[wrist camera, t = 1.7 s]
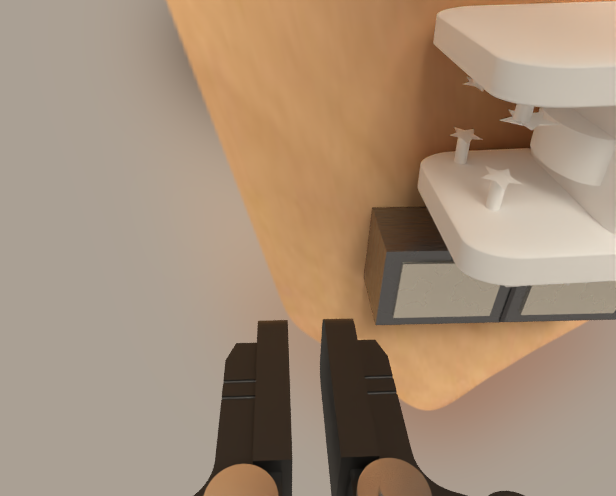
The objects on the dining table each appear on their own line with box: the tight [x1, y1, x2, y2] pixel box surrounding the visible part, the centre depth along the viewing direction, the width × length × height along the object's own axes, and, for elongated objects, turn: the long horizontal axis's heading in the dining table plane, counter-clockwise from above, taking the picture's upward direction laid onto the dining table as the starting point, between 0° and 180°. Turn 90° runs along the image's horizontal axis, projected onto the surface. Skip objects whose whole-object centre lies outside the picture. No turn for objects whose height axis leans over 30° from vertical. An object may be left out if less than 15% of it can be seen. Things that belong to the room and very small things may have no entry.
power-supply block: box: [364, 207, 616, 325], centre depth 32 cm, size 6×17×5 cm, turn 89°
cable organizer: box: [417, 1, 616, 287], centre depth 24 cm, size 15×11×12 cm
